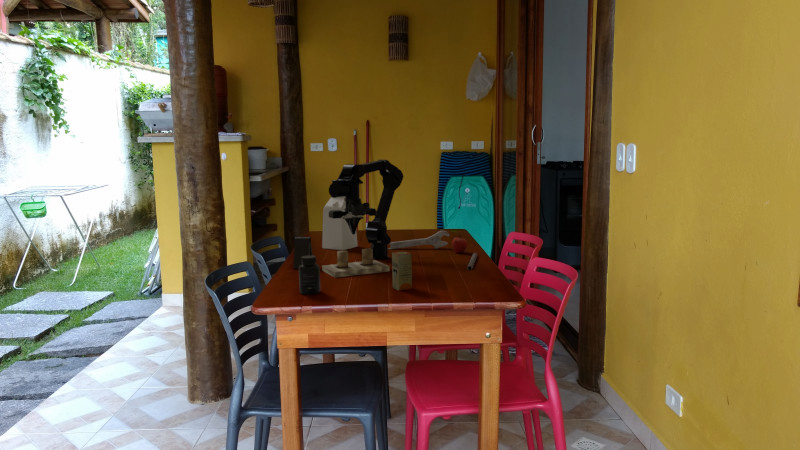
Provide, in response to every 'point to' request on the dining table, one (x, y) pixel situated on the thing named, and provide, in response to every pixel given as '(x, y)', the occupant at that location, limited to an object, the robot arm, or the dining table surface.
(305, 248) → the phone stand
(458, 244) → the apple
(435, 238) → the wrench
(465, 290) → the dining table surface
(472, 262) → the metal rod
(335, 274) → the birch board
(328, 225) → the milk
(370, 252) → the seated peg
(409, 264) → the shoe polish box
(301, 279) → the supplement bottle
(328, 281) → the dining table surface
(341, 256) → the oak peg
